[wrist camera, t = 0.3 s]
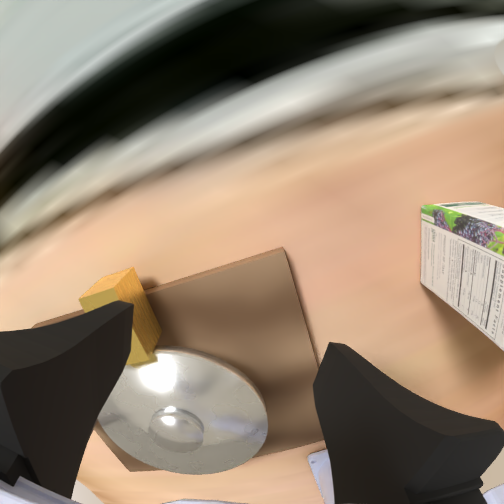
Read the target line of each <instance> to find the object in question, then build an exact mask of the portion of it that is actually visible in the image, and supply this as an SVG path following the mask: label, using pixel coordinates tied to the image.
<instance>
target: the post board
mask: <svg viewBox="0 0 504 504" xmlns="http://www.w3.org/2000/svg"><path fill="white" fill-rule="evenodd" d="M144 293H145V295H146V297H147V299H148V302H149V304H150V306H151V308H152V310H153V312H154V315H155V317H156V319H157V321H158V323H159V325H160V327H161V329H162V332H161V334H160V337H159V339H158V341H157V344H156V345H171V346H181V347H187V348H192V349H196V350H199V351H203V352H206V353H208V354H211V355H214V356H216V357H218V358H220V359H222V360H224V361H226V362H228V363H230V364H231V365H233V366H234V367H236V368H237V369H239V370H240V371H241V372H242V373H244V374H245V375H246V376H247V377H248V378H249V379H250V380H251V381H252V382H253V383H254V384H255V386H256V387H257V388H258V390H259V391H260V393H261V395H262V397H263V399H264V402H265V405H266V411H267V420H268V432H267V436H266V439H265V441H264V443H263V445H262V447H261V448H260V449H259V451H258V452H257V453H256V454H255V455H254V456H253V457H252V458H254V457H259V456H263V455H268V454H272V453H277V452H281V451H285V450H289V449H293V448H297V447H301V446H304V445H308V444H311V443H315V442H318V441H322V440H324V436H323V433H322V429H321V426H320V423H319V419H318V415H317V412H316V408H315V402H314V394H313V382H314V380H315V378H316V375H317V373H318V366H317V363H316V359H315V355H314V352H313V348H312V345H311V341H310V337H309V334H308V330H307V327H306V323H305V320H304V316H303V313H302V309H301V306H300V302H299V299H298V295H297V292H296V288H295V285H294V282H293V278H292V275H291V272H290V268H289V265H288V261H287V258H286V255H285V251H284V249H283V247H281V248H278V249H274V250H271V251H268V252H265V253H262V254H259V255H255V256H252V257H249V258H246V259H243V260H240V261H236V262H233V263H230V264H227V265H224V266H221V267H217V268H214V269H211V270H208V271H205V272H201V273H198V274H195V275H192V276H189V277H185V278H182V279H179V280H176V281H173V282H170V283H166V284H163V285H160V286H157V287H154V288H150V289H147V290H144ZM84 313H85V312H84V310H80V311H76V312H73V313H70V314H67V315H63V316H60V317H57V318H54V319H50V320H47V321H44V322H41V323H37V324H35V325H34V326H33V327H32V328H38V327H42V326H47V325H51V324H55V323H58V322H62V321H64V320H67V319H70V318H73V317H76V316H79V315H82V314H84ZM32 328H31V329H32ZM93 430H95V431H96V432H97V434H98V435H99V436H100V437H101V439H102V440H103V441H104V442H105V444H106V445H107V446H108V447H109V448H110V450H111V451H112V452H113V453H114V454H115V455H116V457H117V458H118V459H119V460H120V461H121V462H122V463H123V465H124V466H125V467H126V468H127V469H128V470H129V471H130V472H136V471H156V470H162V469H159V468H156V467H153V466H151V465H148V464H146V463H144V462H142V461H140V460H138V459H136V458H134V457H133V456H131V455H129V454H128V453H126V452H125V451H124V450H123V449H121V448H120V447H119V446H118V445H117V444H116V443H114V442H113V441H112V439H111V438H110V437H109V436H108V435H107V434H106V432H105V431H104V429H103V428H102V426H101V425H100V423H99V421H98V419H97V420H96V422H95V424H94V427H93V429H92V432H93ZM92 432H91V434H92ZM91 434H90V436H91ZM89 438H90V437H89Z"/></svg>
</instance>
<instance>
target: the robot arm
mask: <svg viewBox="0 0 504 504" xmlns="http://www.w3.org/2000/svg"><path fill="white" fill-rule="evenodd" d="M133 312H134V304H132V303H128V302H124V301H120V300H117V301H114V302H111V303H109V304H106V305H104V306H101V307H99V308H96V309H94V310H92V311H89V312H87V313H84V314H82V315H79V316H76V317H73V318H70V319H67V320H64V321H62V322H58V323H55V324H51V325H47V326H42V327H38V328H32V329H24V330H16V331H3V332H0V504H81V503H79V502H76V501H73V500H71V497H72V493H73V488H74V485H75V481H76V477H77V474H78V470H79V467H80V464H81V460H82V457H83V454H84V451H85V448H86V445H87V443H88V440H89V437H90V434H91V432H92V429H93V427H94V424H95V422H96V420H97V417H98V415H99V413H100V411H101V410H102V408H103V406H104V404H105V403H106V401H107V399H108V397H109V395H110V394H111V392H112V390H113V388H114V387H115V385H116V383H117V381H118V380H119V378H120V376H121V374H122V372H123V370H124V368H125V365H126V363H127V360H128V357H129V355H130V352H131V341H132V325H133ZM313 394H314V402H315V408H316V412H317V415H318V419H319V423H320V426H321V429H322V433H323V436H324V440H325V443H326V447H327V449H326V450H322V451H319V452H315V453H312V454H310V455H308V456H307V459H308V462H309V464H310V467H311V470H312V472H313V475H314V477H315V480H316V482H317V485H318V487H319V490H320V493H321V495H322V497H323V499H324V503H325V504H504V484H501V485H499V486H497V487H494V488H492V489H490V490H488V491H486V492H485V493H484V494H482V493H481V492H480V490H479V488H481V487H482V486H483V481H482V480H481V478H480V476H481V475H482V474H483V473H484V472H485V471H486V469H487V468H488V467H489V466H490V465H491V464H492V462H493V461H494V460H495V459H496V457H497V456H498V455H499V453H500V452H501V450H502V448H503V446H504V431H503V429H502V428H501V427H500V426H499V424H498V423H496V422H495V421H490V420H485V419H481V418H476V417H471V416H468V415H464V414H461V413H458V412H455V411H452V410H449V409H446V408H444V407H441V406H439V405H437V404H434V403H432V402H430V401H428V400H426V399H424V398H422V397H420V396H418V395H416V394H415V393H413V392H411V391H409V390H408V389H406V388H404V387H403V386H401V385H400V384H398V383H397V382H395V381H394V380H392V379H391V378H389V377H388V376H387V375H385V374H384V373H383V372H381V371H380V370H379V369H377V368H376V367H375V366H373V365H372V364H371V363H370V362H368V361H367V360H366V359H365V358H363V357H362V356H361V355H359V354H358V353H357V352H355V351H354V350H353V349H351V348H350V347H348V346H347V345H345V344H340V343H333V342H329V344H328V347H327V350H326V352H325V355H324V357H323V360H322V363H321V365H320V368H319V370H318V373H317V375H316V378H315V380H314V382H313ZM162 504H247V503H236V502H227V501H218V500H197V499H182V500H177V501H172V502H167V503H162Z"/></svg>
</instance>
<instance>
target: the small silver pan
mask: <svg viewBox="0 0 504 504" xmlns="http://www.w3.org/2000/svg"><path fill="white" fill-rule="evenodd" d="M117 300H120V301H124V302H128V303H132V304H134V312H133V325H132V341H131V352H130V355H129V357H128V360H127V363H126V365H125V368H124V370H123V372H122V374H121V376H120V378H119V380H118V381H117V383H116V385H115V387H114V388H113V390H112V392H111V394H110V395H109V397H108V399H107V401H106V403H105V404H104V406H103V408H102V410H101V411H100V413H99V415H98V417H97V419H98V421H99V423H100V425H101V426H102V428H103V429H104V431H105V432H106V434H107V435H108V436H109V437H110V438H111V439H112V441H113V442H114V443H116V444H117V445H118V446H119V447H120V448H121V449H123V450H124V451H125V452H126V453H128V454H129V455H131V456H133V457H134V458H136V459H138V460H140V461H142V462H144V463H146V464H148V465H151V466H153V467H156V468H159V469H162V470H166V471H170V472H175V473H181V474H192V475H202V474H212V473H218V472H223V471H226V470H230V469H232V468H235V467H237V466H239V465H241V464H243V463H245V462H246V461H248V460H249V459H250V458H252V457H253V456H254V455H255V454H256V453H257V452H258V451H259V449H260V448H261V447H262V445H263V443H264V441H265V439H266V436H267V432H268V420H267V411H266V405H265V402H264V399H263V397H262V395H261V393H260V391H259V390H258V388H257V387H256V386H255V384H254V383H253V382H252V381H251V380H250V379H249V378H248V377H247V376H246V375H245V374H244V373H242V372H241V371H240V370H239V369H237V368H236V367H234V366H233V365H231V364H230V363H228V362H226V361H224V360H222V359H220V358H218V357H216V356H214V355H211V354H208V353H206V352H203V351H199V350H196V349H192V348H187V347H181V346H171V345H156V344H157V341H158V339H159V337H160V334H161V332H162V329H161V327H160V325H159V323H158V321H157V319H156V317H155V315H154V312H153V310H152V308H151V306H150V304H149V302H148V299H147V297H146V295H145V293H144V290H143V288H142V286H141V283H140V281H139V279H138V276H137V274H136V272H135V269H134V267H131V268H129V269H126V270H123V271H120V272H117V273H114V274H111V275H108V276H105V277H103V278H101V279H100V280H99V281H98V282H96V283H95V284H94V285H93V286H92V287H91V288H90V289H89V290H88V291H87V292H85V293H84V294H83V295H82V296H81V297H80V298H79V301H80V304H81V306H82V308H83V310H84V312H85V313H87V312H89V311H92V310H94V309H96V308H99V307H101V306H104V305H106V304H109V303H111V302H114V301H117Z"/></svg>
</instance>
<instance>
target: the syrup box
mask: <svg viewBox="0 0 504 504" xmlns="http://www.w3.org/2000/svg"><path fill="white" fill-rule="evenodd" d="M420 282H421V283H422V284H423V285H424V286H425V287H427V288H428V289H429V290H431V291H432V292H433V293H435V294H436V295H437V296H438V297H439V298H441V299H442V300H443V301H444V302H446V303H447V304H448V305H449V306H451V307H452V308H453V309H454V310H456V311H457V312H458V313H459V314H461V315H462V316H463V317H464V318H465V319H467V320H468V321H469V322H470V323H471V324H473V325H474V326H475V327H476V328H477V329H479V330H480V331H481V332H482V333H483V334H485V335H486V336H487V337H488V338H489V339H490V340H492V341H493V342H494V343H495V344H496V345H497V346H498V347H499V348H500V349H502V350H503V351H504V208H500V207H497V206H493V205H488V204H485V203H481V202H454V203H442V204H432V205H423V206H422V207H421V278H420Z"/></svg>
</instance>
